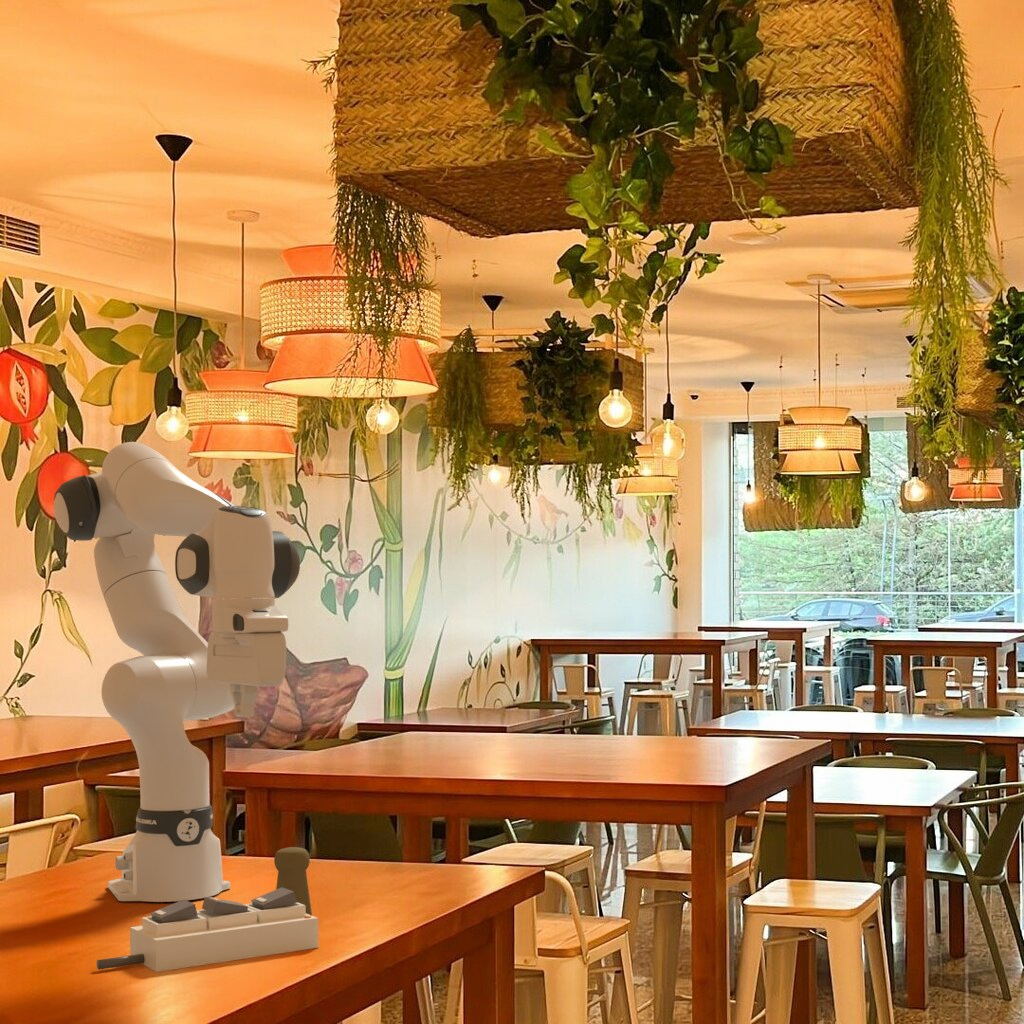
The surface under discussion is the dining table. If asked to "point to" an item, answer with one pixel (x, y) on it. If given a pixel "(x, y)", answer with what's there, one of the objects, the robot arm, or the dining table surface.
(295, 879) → the cork
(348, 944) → the dining table surface
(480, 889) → the dining table surface
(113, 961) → the switch strip
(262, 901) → the rocker
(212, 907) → the rocker
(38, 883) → the dining table surface
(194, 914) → the rocker
